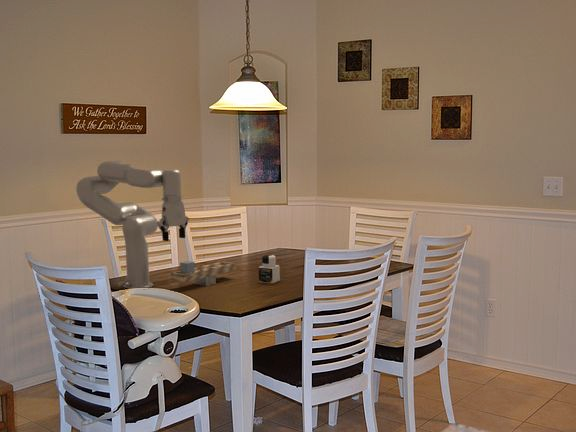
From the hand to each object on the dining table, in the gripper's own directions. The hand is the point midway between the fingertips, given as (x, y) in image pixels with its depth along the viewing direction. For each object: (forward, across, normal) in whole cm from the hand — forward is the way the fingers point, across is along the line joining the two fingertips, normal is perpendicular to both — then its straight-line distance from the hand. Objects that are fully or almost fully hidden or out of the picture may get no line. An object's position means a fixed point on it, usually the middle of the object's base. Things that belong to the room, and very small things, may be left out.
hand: (174, 239), depth 302 cm
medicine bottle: (+23, +37, -21) cm, 48 cm away
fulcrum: (+22, +17, 0) cm, 28 cm away
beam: (+18, +17, 0) cm, 25 cm away
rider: (+16, +7, 0) cm, 18 cm away
